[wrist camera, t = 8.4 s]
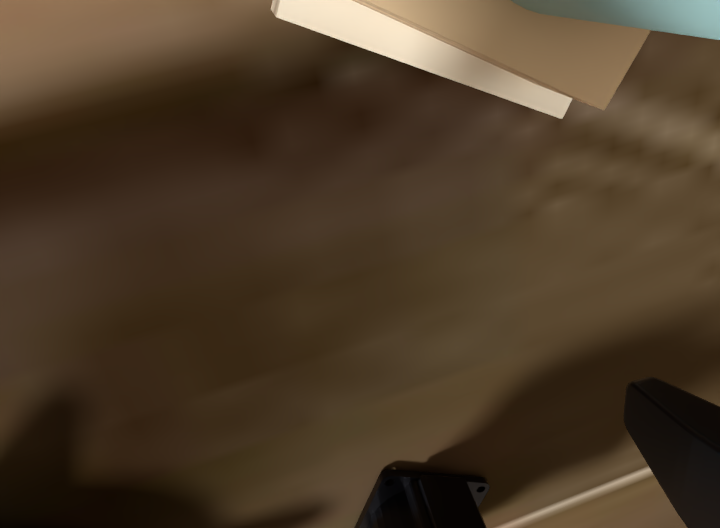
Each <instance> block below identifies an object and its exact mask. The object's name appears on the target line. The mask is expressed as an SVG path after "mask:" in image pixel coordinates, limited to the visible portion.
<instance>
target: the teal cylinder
mask: <svg viewBox="0 0 720 528" xmlns="http://www.w3.org/2000/svg"><path fill="white" fill-rule="evenodd" d="M511 1H512V2H513V3H515V4H517V5H519V6H521V7H523V8H525V9H527V10H530V11H533V12H536V13H539V14H545V15H551V16H558V17H565V18H572V19H578V20H585V21H592V22H599V23H606V24H613V25H620V26H627V27H634V28H641V29H647V30H654V31H661V32H668V33H675V34H682V35H689V36H696V37H703V38H710V39H716V40H720V0H511Z"/></svg>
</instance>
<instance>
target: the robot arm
mask: <svg viewBox="0 0 720 528" xmlns="http://www.w3.org/2000/svg"><path fill="white" fill-rule="evenodd" d="M624 422H625V426H626V428H627V430H628V432H629V434H630V435H631V437H632V439H633V440H634V442H635V444H636V445H637V447H638V449H639V450H640V452H641V454H642V455H643V457H644V459H645V460H646V462H647V464H648V465H649V467H650V469H651V470H652V472H653V474H654V475H655V477H656V479H657V480H658V482H659V484H660V485H661V487H662V489H663V490H664V492H665V494H666V495H667V497H668V499H669V500H670V502H671V504H672V505H673V507H674V508H675V510H676V511H677V513H678V515H679V516H680V517H681V519H682V520H683V522H684V523H685V524H686V526H687V527H688V528H720V407H719V406H717V405H715V404H713V403H710V402H708V401H706V400H704V399H702V398H699V397H697V396H695V395H693V394H691V393H688V392H686V391H684V390H682V389H680V388H677V387H675V386H673V385H671V384H669V383H666V382H664V381H662V380H660V379H657V378H654V377H646V378H642V379H639V380H635V381H632V382H630V383H629V384H628V385H627V387H626V395H625V405H624ZM489 488H490V487H489V484H488V482H487V480H486V479H485V478H483V477H474V476H462V475H450V474H438V473H426V472H414V471H402V470H386V471H384V472H382V473H381V474H380V475H379V477H378V479H377V482H376V484H375V486H374V488H373V490H372V492H371V494H370V496H369V498H368V500H367V503H366V505H365V507H364V509H363V511H362V513H361V515H360V517H359V519H358V522H357V524H356V526H355V528H487V527H486V525H485V523H484V521H483V518H482V516H481V514H480V511H479V509H478V507H479V505H480V504H481V502H482V500H483V499H484V497H485V495H486V494H487V492H488V490H489Z"/></svg>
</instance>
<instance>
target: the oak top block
mask: <svg viewBox="0 0 720 528" xmlns="http://www.w3.org/2000/svg"><path fill="white" fill-rule="evenodd" d="M352 1H355V2H357V3H359V4H361V5H363V6H366V7H368V8H370V9H372V10H374V11H377V12H379V13H381V14H383V15H385V16H387V17H390V18H392V19H394V20H396V21H398V22H401V23H403V24H405V25H407V26H409V27H411V28H414V29H416V30H418V31H420V32H422V33H425V34H427V35H429V36H431V37H433V38H435V39H438V40H440V41H442V42H444V43H446V44H449V45H451V46H453V47H455V48H457V49H460V50H462V51H464V52H466V53H468V54H470V55H473V56H475V57H477V58H479V59H481V60H484V61H486V62H488V63H490V64H492V65H494V66H497V67H499V68H501V69H503V70H505V71H508V72H510V73H512V74H514V75H516V76H518V77H521V78H523V79H525V80H527V81H529V82H532V83H534V84H536V85H539V86H541V87H544V88H547V89H549V90H552V91H554V92H557V93H560V94H562V95H565V96H567V97H570V98H573V99H575V100H578V101H580V102H583V103H586V104H588V105H591V106H593V107H596V108H599V109H601V110H605V109H606V107H607V105H608V103H609V102H610V100H611V98H612V96H613V95H614V93H615V91H616V90H617V88H618V86H619V84H620V83H621V81H622V79H623V77H624V76H625V74H626V72H627V71H628V69H629V67H630V65H631V64H632V62H633V60H634V58H635V57H636V55H637V53H638V52H639V50H640V48H641V46H642V45H643V43H644V41H645V39H646V38H647V36H648V34H649V33H650V31H651V30H647V29H641V28H634V27H627V26H620V25H613V24H606V23H599V22H592V21H585V20H578V19H572V18H565V17H558V16H551V15H545V14H539V13H536V12H533V11H530V10H527V9H525V8H523V7H521V6H519V5H517V4H515V3H513V2H512V1H511V0H352Z"/></svg>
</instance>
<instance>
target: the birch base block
mask: <svg viewBox="0 0 720 528" xmlns="http://www.w3.org/2000/svg"><path fill="white" fill-rule="evenodd" d="M271 10H272V12H273V13H274V14H275V16H276V17H277V18H280V19H283V20H286V21H289V22H291V23H294V24H297V25H300V26H303V27H305V28H308V29H311V30H314V31H317V32H319V33H322V34H325V35H328V36H331V37H333V38H336V39H339V40H342V41H345V42H347V43H350V44H353V45H356V46H359V47H361V48H364V49H367V50H370V51H373V52H375V53H378V54H381V55H384V56H387V57H389V58H392V59H395V60H398V61H401V62H403V63H406V64H409V65H412V66H415V67H417V68H420V69H423V70H426V71H429V72H431V73H434V74H437V75H440V76H443V77H445V78H448V79H451V80H454V81H457V82H459V83H462V84H465V85H468V86H471V87H473V88H476V89H479V90H482V91H485V92H487V93H490V94H493V95H496V96H499V97H501V98H504V99H507V100H510V101H513V102H516V103H518V104H521V105H524V106H527V107H530V108H532V109H535V110H538V111H541V112H544V113H546V114H549V115H552V116H555V117H558V118H560V119H563V117H564V115H565V113H566V110H567V108H568V106H569V104H570V102H571V100H572V98H570V97H567V96H565V95H562V94H560V93H557V92H554V91H552V90H549V89H547V88H544V87H541V86H539V85H536V84H534V83H532V82H529V81H527V80H525V79H523V78H521V77H518V76H516V75H514V74H512V73H510V72H508V71H505V70H503V69H501V68H499V67H497V66H494V65H492V64H490V63H488V62H486V61H484V60H481V59H479V58H477V57H475V56H473V55H470V54H468V53H466V52H464V51H462V50H460V49H457V48H455V47H453V46H451V45H449V44H446V43H444V42H442V41H440V40H438V39H435V38H433V37H431V36H429V35H427V34H425V33H422V32H420V31H418V30H416V29H414V28H411V27H409V26H407V25H405V24H403V23H401V22H398V21H396V20H394V19H392V18H390V17H387V16H385V15H383V14H381V13H379V12H377V11H374V10H372V9H370V8H368V7H366V6H363V5H361V4H359V3H357V2H355V1H352V0H273V1H272V6H271Z"/></svg>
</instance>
